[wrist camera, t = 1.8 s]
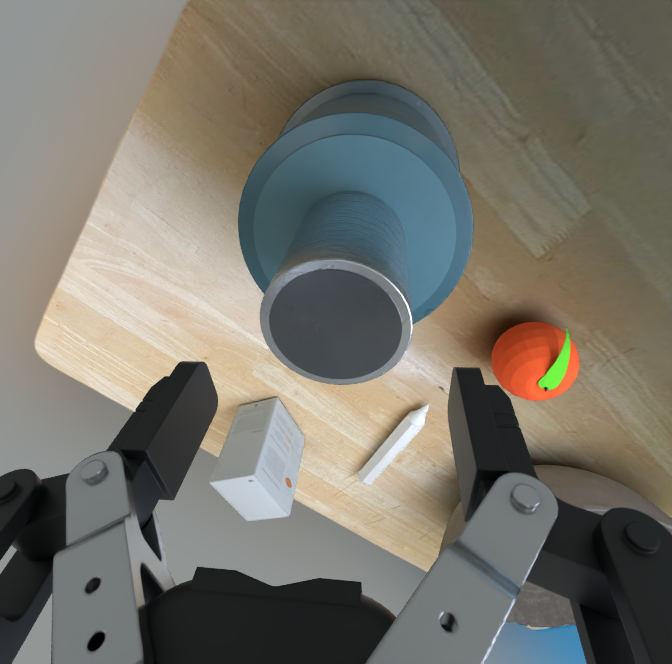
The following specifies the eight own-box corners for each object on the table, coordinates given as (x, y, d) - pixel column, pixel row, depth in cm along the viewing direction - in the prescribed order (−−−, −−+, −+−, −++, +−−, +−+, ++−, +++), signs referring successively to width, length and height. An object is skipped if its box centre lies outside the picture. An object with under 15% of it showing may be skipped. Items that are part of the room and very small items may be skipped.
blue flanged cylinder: (257, 87, 27) (192, 105, 18) (469, 70, 25) (513, 82, 16) (286, 271, 35) (252, 346, 27) (447, 269, 34) (468, 348, 25)
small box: (238, 404, 47) (205, 481, 39) (278, 395, 45) (253, 474, 37) (269, 444, 51) (245, 522, 43) (306, 438, 49) (290, 518, 41)
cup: (290, 193, 20) (244, 260, 14) (407, 188, 19) (416, 257, 13) (304, 293, 24) (272, 384, 17) (403, 292, 23) (409, 388, 16)
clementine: (510, 289, 34) (534, 337, 28) (584, 307, 34) (623, 358, 29) (472, 355, 39) (487, 408, 33) (538, 371, 39) (563, 426, 33)
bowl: (512, 566, 63) (530, 641, 55) (389, 494, 55) (389, 571, 47) (698, 507, 49) (758, 597, 41) (569, 398, 41) (614, 484, 33)
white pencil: (429, 393, 43) (368, 467, 53) (415, 394, 42) (355, 469, 51) (442, 412, 42) (376, 485, 51) (428, 413, 41) (363, 488, 50)
